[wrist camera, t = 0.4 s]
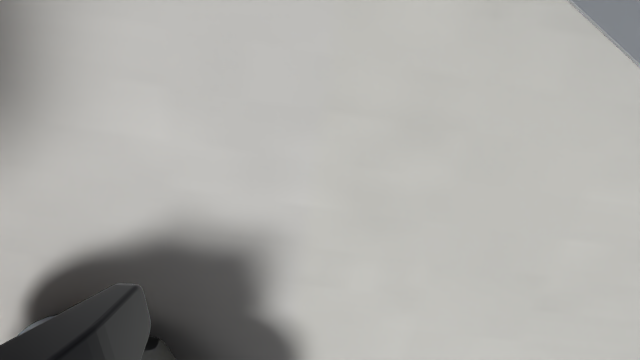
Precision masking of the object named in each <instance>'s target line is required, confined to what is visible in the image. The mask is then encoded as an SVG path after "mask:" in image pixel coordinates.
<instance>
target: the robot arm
mask: <svg viewBox="0 0 640 360" xmlns="http://www.w3.org/2000/svg"><path fill="white" fill-rule="evenodd" d="M150 329H151V320H150V315H149V311H148V307H147V303H146V299H145V295H144V291H143V289H142V287H141V286H140V285H138V284H125V283H118V284H115V285H113V286H111V287H109V288H107V289H105V290H103V291H101V292H99V293H98V294H96V295H94V296H92V297H90V298H88V299H86V300H84V301H83V302H81V303H79V304H77V305H75V306H73V307H71V308H69V309H68V310H66V311H64V312H62V313H60V314H58V315H56V316H54V317H53V318H51V319H49V320H47V321H45V322H43V323H41V324H39V325H37V326H36V327H34V328H32V329H30V330H28V331H26V332H24V333H22V334H21V335H19V336H17V337H15V338H13V339H11V340H9V341H7V342H6V343H4V344H2V345H0V360H141V358H142V355H143V352H144V349H145V346H146V343H147V341H148V338H149V334H150Z"/></svg>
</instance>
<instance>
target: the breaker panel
mask: <svg viewBox="0 0 640 360" xmlns="http://www.w3.org/2000/svg"><path fill="white" fill-rule="evenodd" d="M567 1H568V2H570V3H571V4H572V5H573V6H574V7H575V8H576V9H577V10H578V11H579V12H580V13H581V14H582V15H583V16H585V17H586V18H587V19H588V20H589V21H590V22H591V23H592V24H593V25H594V26H595V27H596V28H597V29H599V30H600V31H601V32H602V33H603V34H604V35H605V36H606V37H607V38H608V39H609V40H610V41H611V42H613V43H614V44H615V45H616V46H617V47H618V48H619V49H620V50H621V51H622V52H623V53H624V54H625V55H626V56H628V57H629V58H630V59H631V60H632V61H633V62H634V63H635V64H636V65H637V66H638V67H639V68H640V0H567Z"/></svg>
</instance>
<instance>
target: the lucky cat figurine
mask: <svg viewBox="0 0 640 360" xmlns="http://www.w3.org/2000/svg"><path fill="white" fill-rule="evenodd" d="M53 317H54V316H50V317H47V318H44V319H42V320H39V321H37V322H35V323H33V324H32V325H30V326H29V327H27V328H26V329H25V330H23V331H22V332H21V333H20V334H19V335H21V334H22V333H24V332H26V331H28V330H30V329H32V328H34V327H36V326H37V325H39V324H41V323H43V322H45V321H47V320H49V319H51V318H53ZM19 335H18V336H19ZM141 360H176V359H175V357H174V356H173V354H172V353H171V351H170V349H169V348H168V346H167V345H166V344H165V343H164V341H163V340H162V339H159V338H157V337H151V336H149V338H148V341H147V343H146V346H145V349H144V352H143V355H142V358H141Z"/></svg>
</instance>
